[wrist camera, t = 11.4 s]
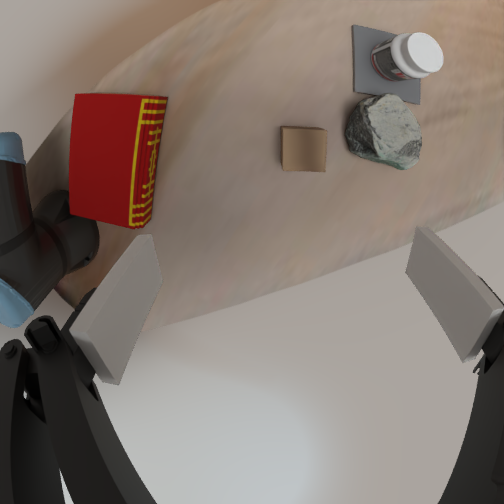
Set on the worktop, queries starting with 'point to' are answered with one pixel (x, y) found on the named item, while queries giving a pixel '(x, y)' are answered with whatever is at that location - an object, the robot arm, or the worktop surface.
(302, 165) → the walnut block
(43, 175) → the worktop surface
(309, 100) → the worktop surface
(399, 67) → the pill bottle
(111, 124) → the book
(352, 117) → the stone
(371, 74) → the coaster
